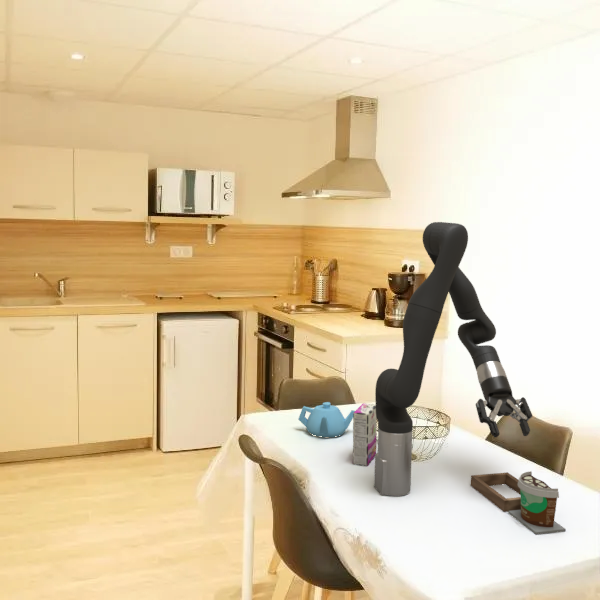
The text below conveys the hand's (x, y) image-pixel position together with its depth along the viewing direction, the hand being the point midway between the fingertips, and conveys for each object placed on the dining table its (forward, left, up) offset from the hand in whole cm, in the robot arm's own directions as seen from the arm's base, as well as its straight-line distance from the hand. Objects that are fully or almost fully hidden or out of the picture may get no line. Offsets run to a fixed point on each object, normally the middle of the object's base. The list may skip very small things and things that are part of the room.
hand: (512, 435), depth 172 cm
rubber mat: (0, -13, -18) cm, 22 cm away
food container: (-1, -12, -18) cm, 21 cm away
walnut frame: (+1, +3, -18) cm, 18 cm away
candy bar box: (-27, +38, -18) cm, 50 cm away
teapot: (-31, +66, -18) cm, 75 cm away
